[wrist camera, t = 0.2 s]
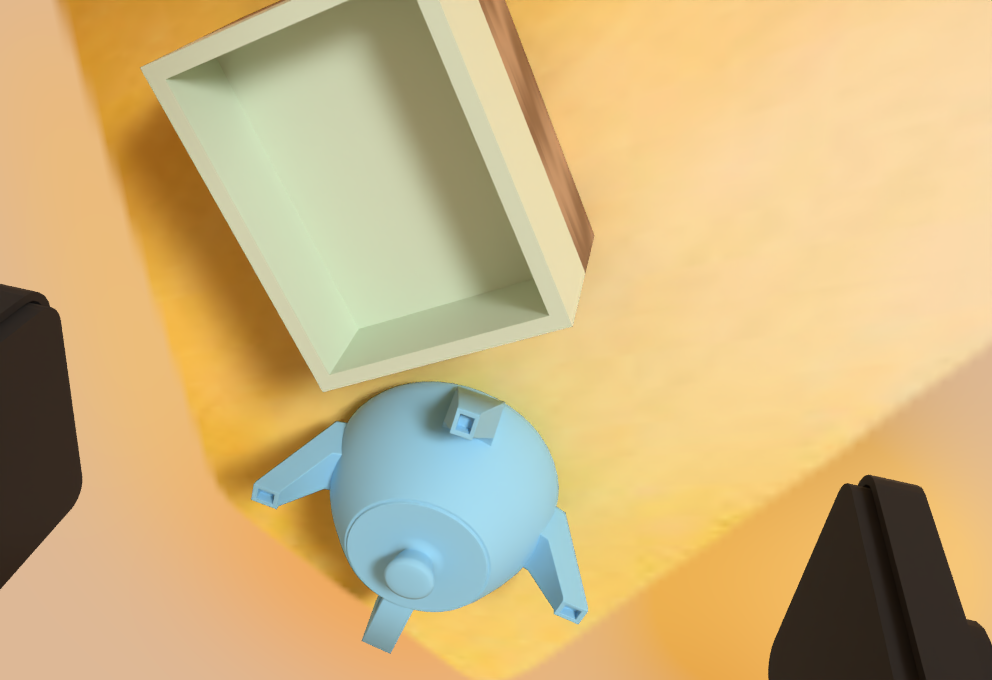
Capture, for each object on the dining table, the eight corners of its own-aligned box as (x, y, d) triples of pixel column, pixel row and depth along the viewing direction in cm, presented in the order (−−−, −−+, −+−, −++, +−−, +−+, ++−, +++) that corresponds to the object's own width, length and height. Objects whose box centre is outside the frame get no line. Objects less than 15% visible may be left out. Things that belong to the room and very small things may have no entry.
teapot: (292, 393, 58) (216, 506, 49) (503, 322, 52) (461, 434, 43) (406, 567, 64) (357, 695, 55) (606, 519, 58) (589, 654, 49)
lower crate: (240, 18, 46) (199, 38, 42) (472, -86, 42) (449, -73, 38) (381, 298, 53) (357, 337, 49) (594, 235, 48) (585, 273, 45)
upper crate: (199, 38, 42) (140, 67, 38) (449, -73, 38) (416, -56, 33) (357, 337, 49) (322, 392, 45) (585, 273, 45) (572, 326, 40)
